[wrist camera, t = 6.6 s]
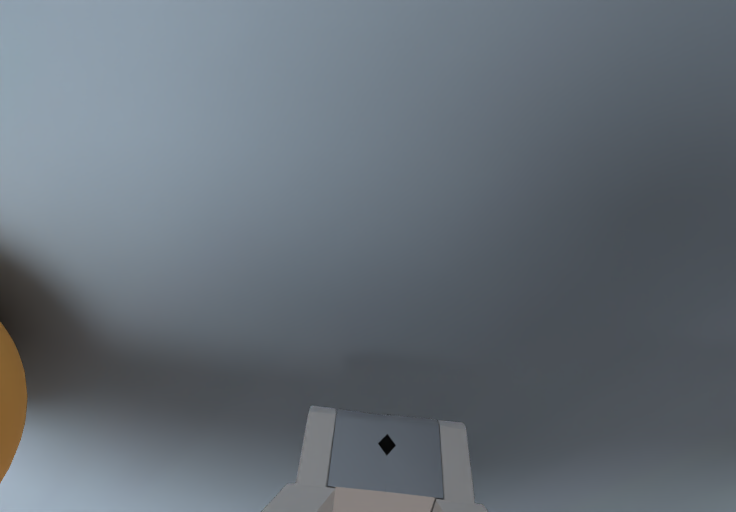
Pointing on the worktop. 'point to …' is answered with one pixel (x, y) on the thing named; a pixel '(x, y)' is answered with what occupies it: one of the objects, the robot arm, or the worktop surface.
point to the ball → (10, 400)
